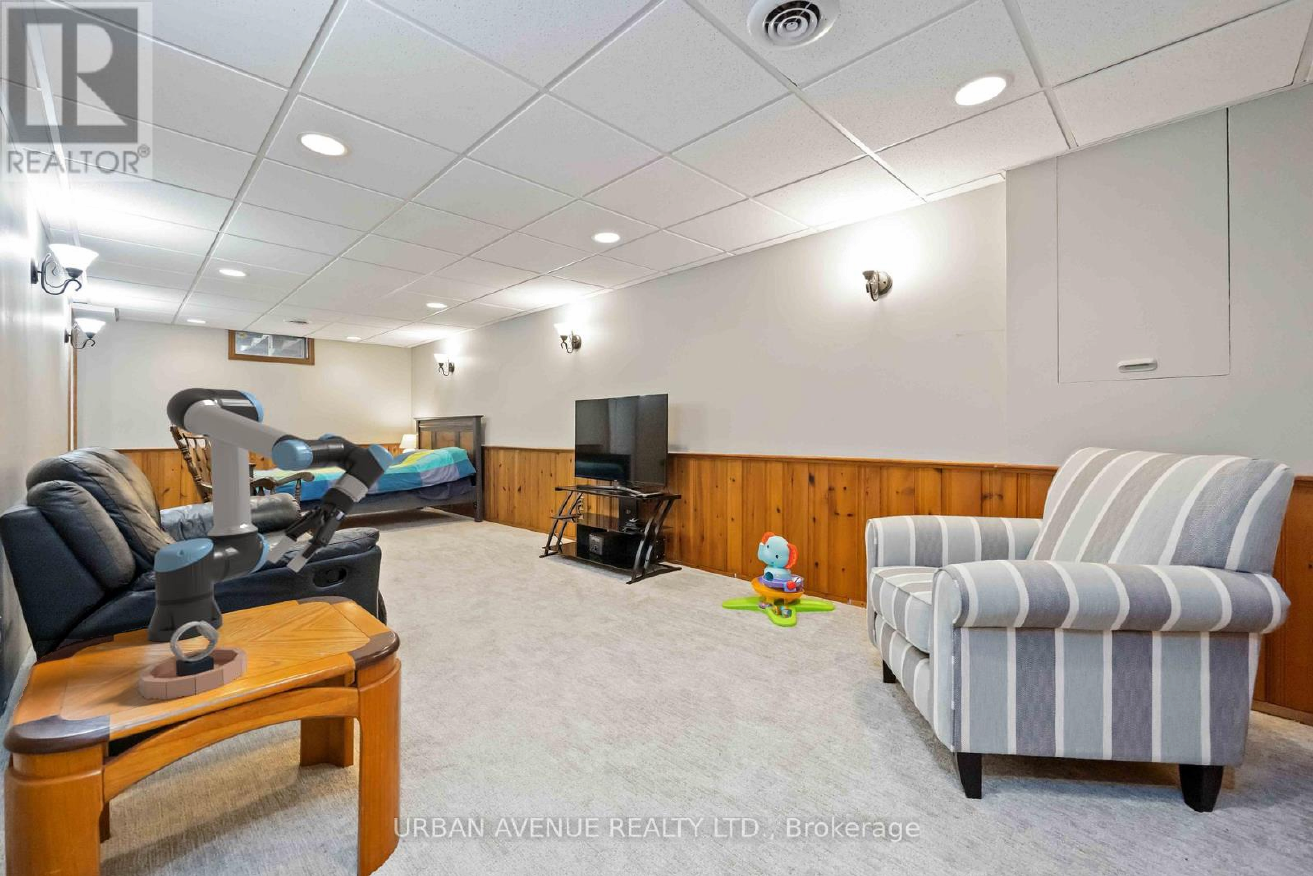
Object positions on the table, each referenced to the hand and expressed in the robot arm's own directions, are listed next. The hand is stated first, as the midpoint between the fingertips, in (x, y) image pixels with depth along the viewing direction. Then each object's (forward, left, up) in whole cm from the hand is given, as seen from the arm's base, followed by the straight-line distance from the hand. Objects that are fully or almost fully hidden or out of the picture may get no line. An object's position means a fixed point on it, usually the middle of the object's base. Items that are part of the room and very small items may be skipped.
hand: (280, 564), depth 132 cm
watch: (+2, -17, -20) cm, 26 cm away
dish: (+2, -17, -21) cm, 27 cm away
